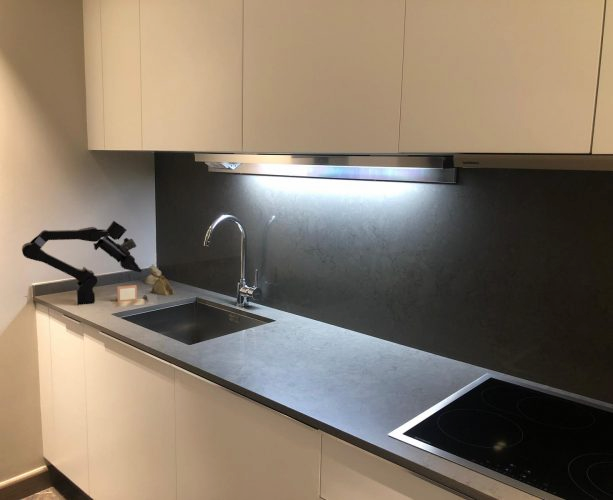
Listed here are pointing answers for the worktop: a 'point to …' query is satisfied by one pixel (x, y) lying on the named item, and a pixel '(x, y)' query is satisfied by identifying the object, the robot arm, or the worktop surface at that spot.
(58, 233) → the robot arm
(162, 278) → the rock
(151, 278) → the beige lumpy chunk
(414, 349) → the worktop surface
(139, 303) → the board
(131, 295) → the picture frame
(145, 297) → the turner
